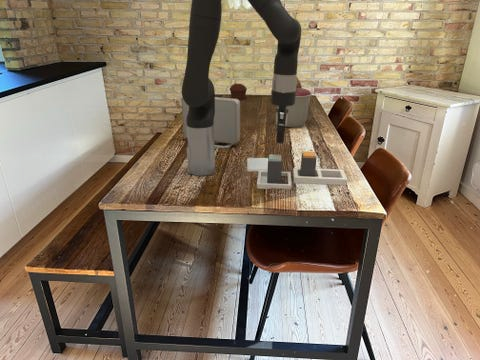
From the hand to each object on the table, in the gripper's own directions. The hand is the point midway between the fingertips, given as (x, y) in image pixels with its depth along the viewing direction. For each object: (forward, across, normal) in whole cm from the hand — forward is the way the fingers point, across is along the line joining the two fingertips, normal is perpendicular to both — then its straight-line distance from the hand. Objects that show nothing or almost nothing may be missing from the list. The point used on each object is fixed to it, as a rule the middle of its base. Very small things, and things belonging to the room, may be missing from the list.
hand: (280, 138), depth 116 cm
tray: (+14, +4, -1) cm, 15 cm away
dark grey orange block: (+13, +1, +10) cm, 17 cm away
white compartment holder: (+14, +1, +14) cm, 20 cm away
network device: (+15, -34, -30) cm, 48 cm away
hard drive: (+15, -10, -7) cm, 20 cm away
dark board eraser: (+14, +4, -1) cm, 14 cm away
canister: (+15, -67, +6) cm, 69 cm away
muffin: (+16, -125, -30) cm, 130 cm away
